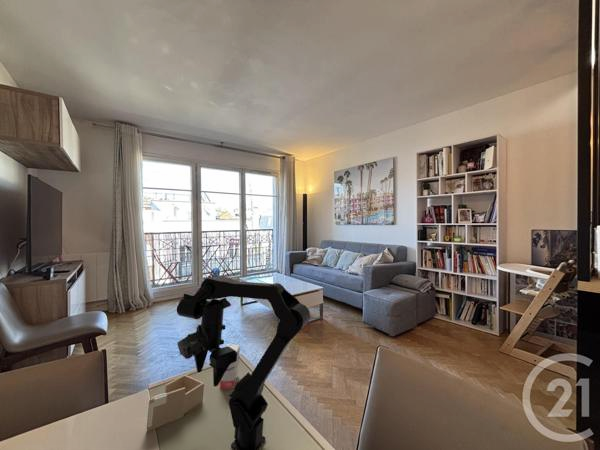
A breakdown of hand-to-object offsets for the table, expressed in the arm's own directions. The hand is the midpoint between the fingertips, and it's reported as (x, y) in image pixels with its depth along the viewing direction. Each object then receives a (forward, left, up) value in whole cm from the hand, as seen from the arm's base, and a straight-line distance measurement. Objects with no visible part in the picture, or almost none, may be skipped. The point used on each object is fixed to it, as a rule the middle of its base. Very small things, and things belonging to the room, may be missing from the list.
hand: (207, 378), depth 69 cm
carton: (+12, -4, -13) cm, 18 cm away
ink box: (+9, -20, -13) cm, 26 cm away
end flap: (+10, +4, -13) cm, 17 cm away
